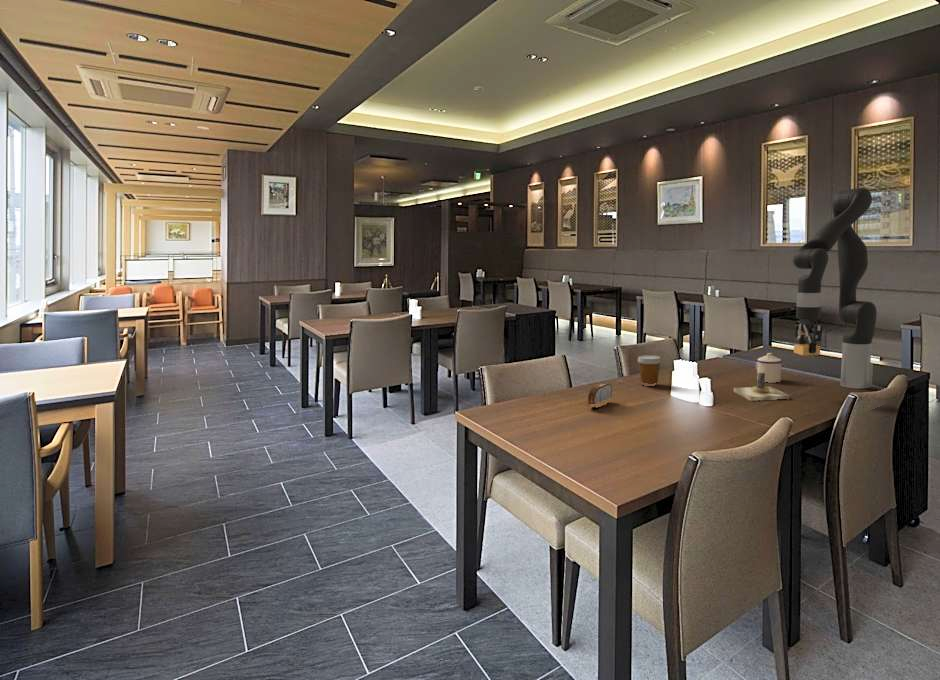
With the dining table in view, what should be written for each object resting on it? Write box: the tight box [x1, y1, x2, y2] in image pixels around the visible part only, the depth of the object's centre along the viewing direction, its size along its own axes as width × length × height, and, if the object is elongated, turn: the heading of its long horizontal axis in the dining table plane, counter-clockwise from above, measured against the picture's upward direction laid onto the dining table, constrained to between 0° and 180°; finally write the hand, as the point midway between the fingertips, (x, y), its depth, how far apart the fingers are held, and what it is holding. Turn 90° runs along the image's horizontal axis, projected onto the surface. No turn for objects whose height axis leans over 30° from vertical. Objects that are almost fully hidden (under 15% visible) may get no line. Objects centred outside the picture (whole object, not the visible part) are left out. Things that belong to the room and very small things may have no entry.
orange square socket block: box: [793, 343, 821, 356], centre depth 203 cm, size 6×6×3 cm
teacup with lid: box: [755, 352, 783, 384], centre depth 234 cm, size 12×9×12 cm
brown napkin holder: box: [587, 381, 613, 405], centre depth 207 cm, size 15×3×8 cm, turn 141°
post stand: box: [733, 373, 791, 402], centre depth 211 cm, size 14×14×8 cm
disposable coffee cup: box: [637, 354, 662, 384], centre depth 235 cm, size 10×10×12 cm
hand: (806, 351), depth 203 cm, fingers closed on orange square socket block, 6 cm apart
